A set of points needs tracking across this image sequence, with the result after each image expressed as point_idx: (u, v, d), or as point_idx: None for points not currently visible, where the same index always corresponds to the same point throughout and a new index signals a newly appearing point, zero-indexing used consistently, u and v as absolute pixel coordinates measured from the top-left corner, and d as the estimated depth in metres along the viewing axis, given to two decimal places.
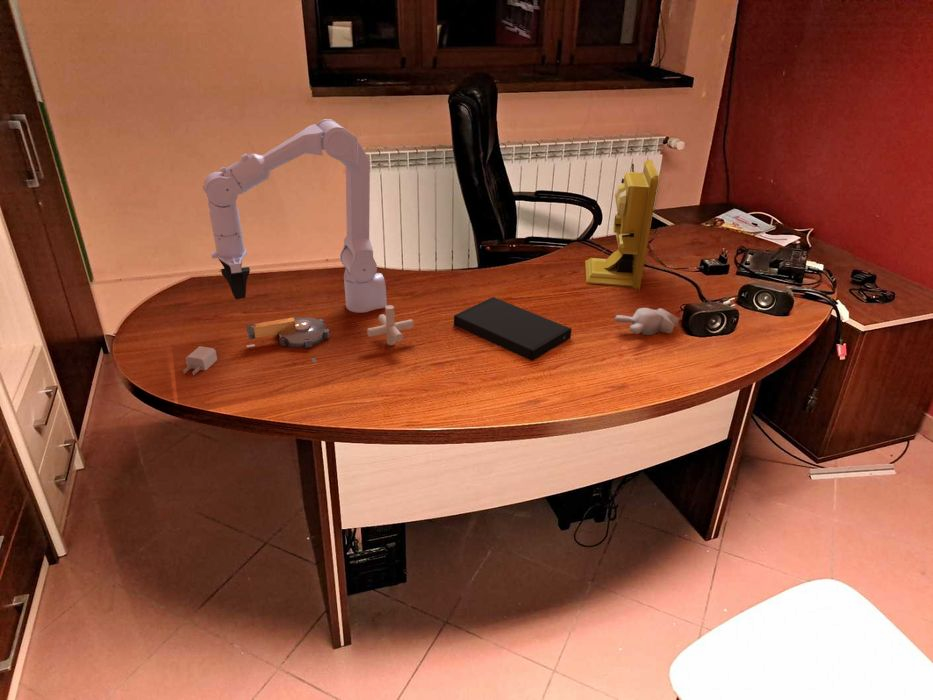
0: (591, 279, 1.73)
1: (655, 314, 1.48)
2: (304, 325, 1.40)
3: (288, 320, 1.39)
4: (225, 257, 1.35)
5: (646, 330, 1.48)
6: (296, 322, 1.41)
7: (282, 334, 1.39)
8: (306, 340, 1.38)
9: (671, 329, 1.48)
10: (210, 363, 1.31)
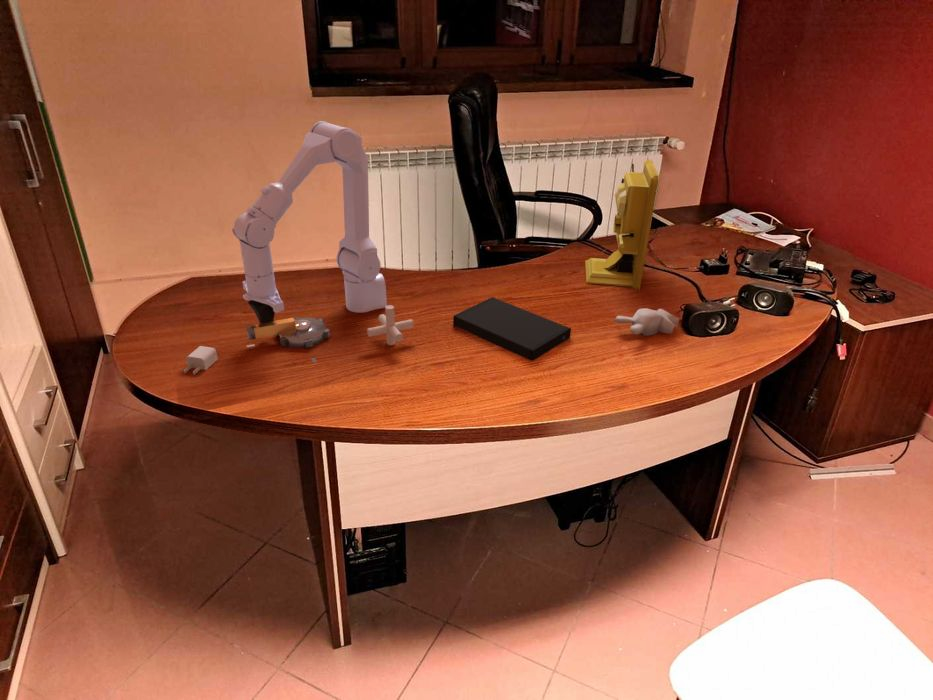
0: (591, 279, 1.73)
1: (655, 315, 1.48)
2: (304, 325, 1.40)
3: (288, 321, 1.39)
4: (261, 297, 1.33)
5: (646, 331, 1.47)
6: (296, 322, 1.41)
7: (282, 334, 1.39)
8: (307, 339, 1.38)
9: (671, 329, 1.48)
10: (210, 363, 1.31)
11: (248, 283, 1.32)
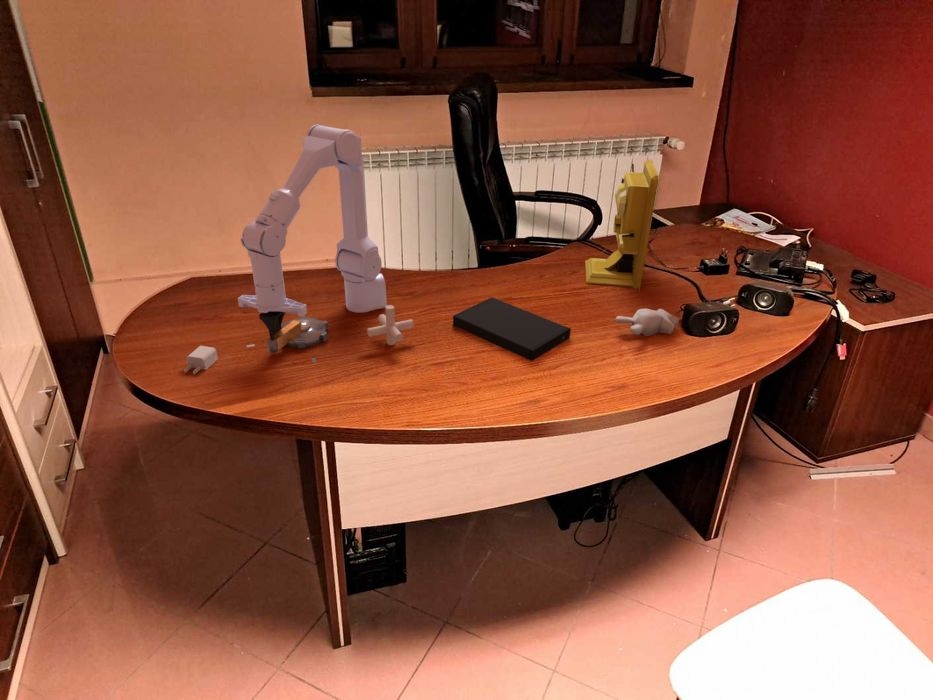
0: (591, 279, 1.73)
1: (655, 315, 1.48)
2: (307, 323, 1.41)
3: (295, 323, 1.38)
4: (279, 306, 1.30)
5: (646, 331, 1.47)
6: None
7: (295, 338, 1.38)
8: (322, 333, 1.40)
9: (671, 330, 1.48)
10: (211, 362, 1.31)
11: (264, 294, 1.28)
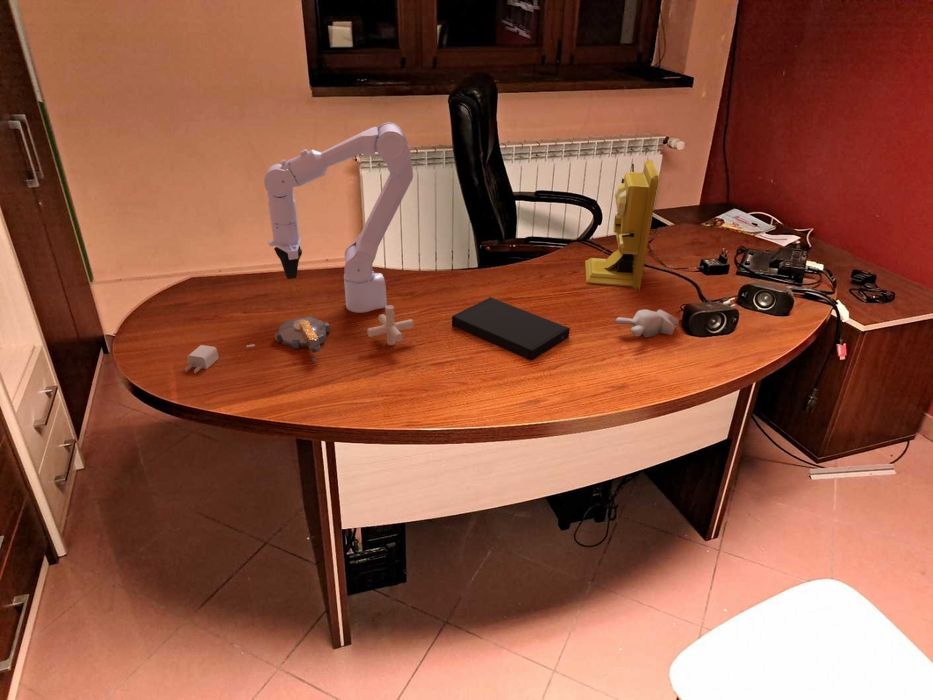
0: (591, 279, 1.73)
1: (655, 316, 1.47)
2: None
3: (306, 322, 1.38)
4: (282, 245, 1.43)
5: (647, 332, 1.47)
6: (299, 325, 1.40)
7: None
8: (326, 324, 1.44)
9: (672, 331, 1.47)
10: (211, 362, 1.32)
11: (272, 230, 1.43)
